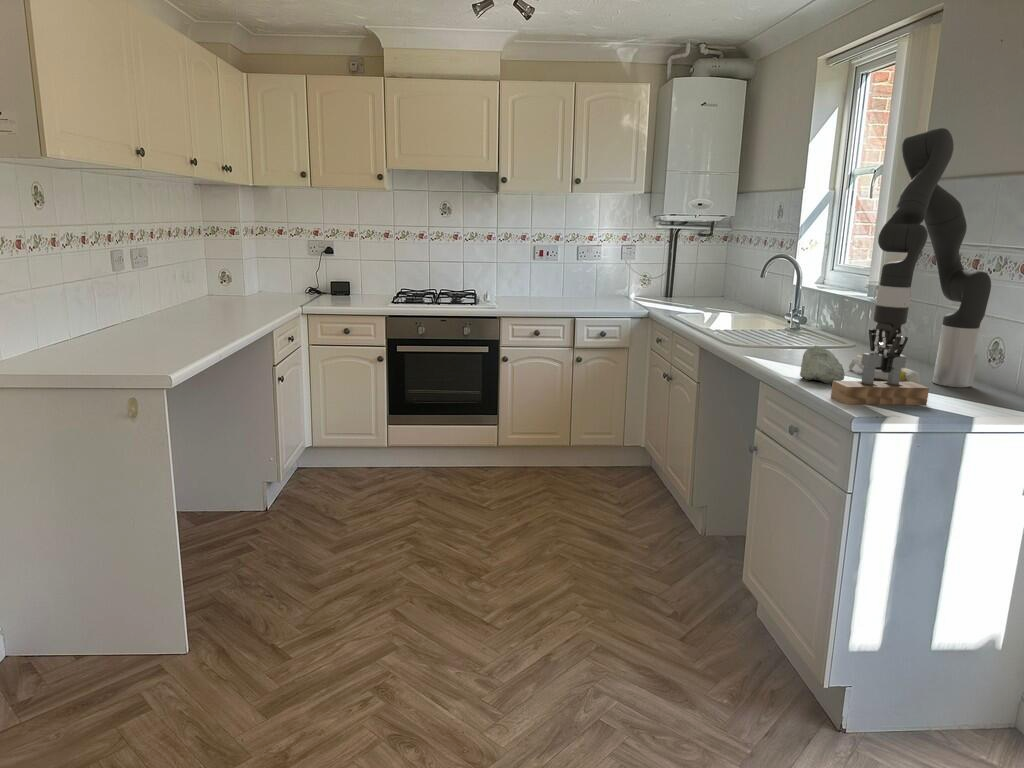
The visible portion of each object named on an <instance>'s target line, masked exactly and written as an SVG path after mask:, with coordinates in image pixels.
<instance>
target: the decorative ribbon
mask: <svg viewBox="0 0 1024 768" xmlns="http://www.w3.org/2000/svg"><path fill="white" fill-rule="evenodd" d="M856 356H857V357H860V358H862V356H861V355H858V354H857V355H856ZM861 362H862V361H859V360H858V359H856V357H855V358H852V360H851V362H850V363H849V365H848V369H849V370H850V371H852V370H853V369H854V367H855V365H857V366H858V367H859V369H861V370H862V371H863V368H864V365H861ZM874 380H877V381H887V380H888V373H884V372H882V370H876V369H875V375H874ZM899 382H914V383H917V384H920V382H921V375H920V373H919V372H917V371H915V370H913V369H909V368H906V367H905V368H901V375H900V381H899Z"/></svg>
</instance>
